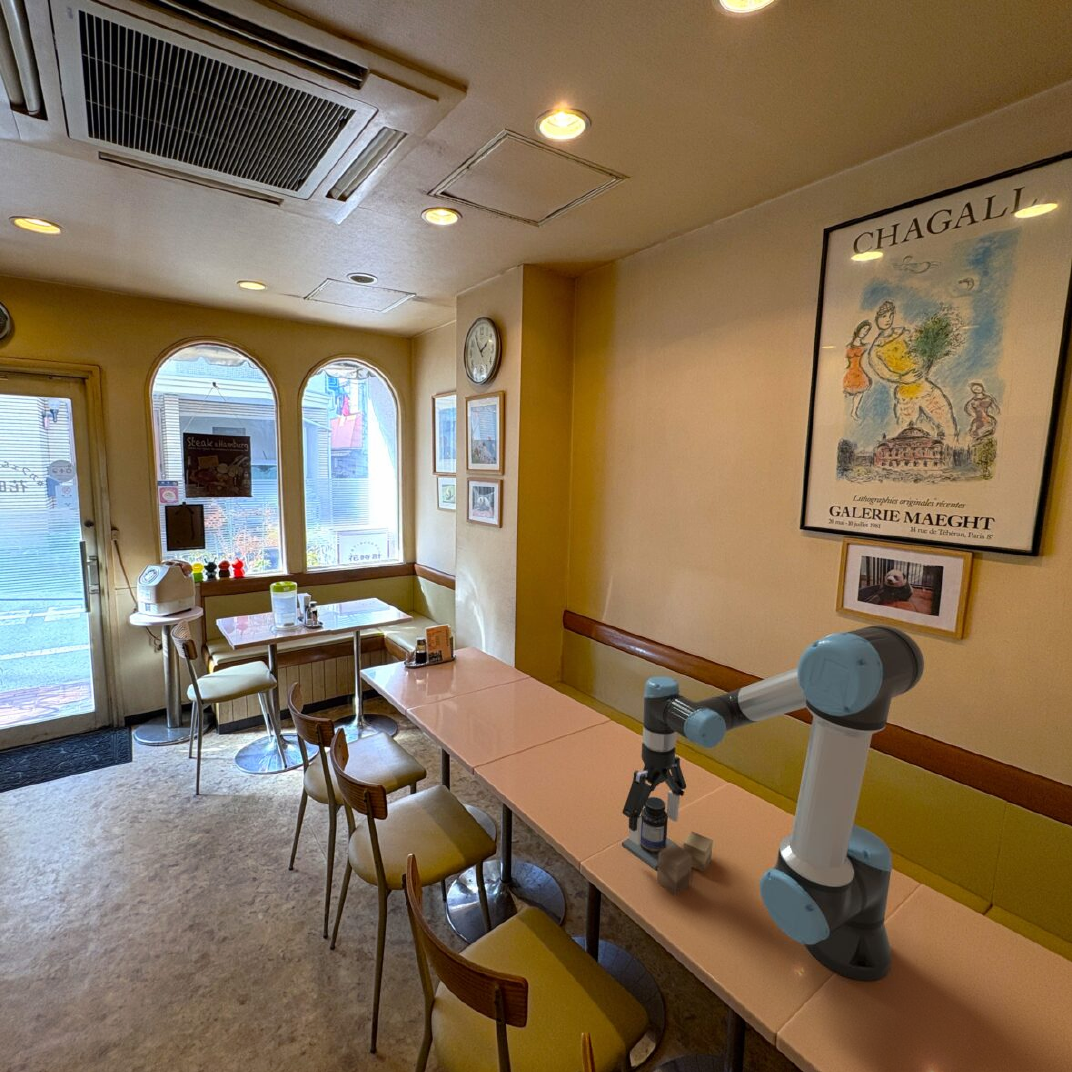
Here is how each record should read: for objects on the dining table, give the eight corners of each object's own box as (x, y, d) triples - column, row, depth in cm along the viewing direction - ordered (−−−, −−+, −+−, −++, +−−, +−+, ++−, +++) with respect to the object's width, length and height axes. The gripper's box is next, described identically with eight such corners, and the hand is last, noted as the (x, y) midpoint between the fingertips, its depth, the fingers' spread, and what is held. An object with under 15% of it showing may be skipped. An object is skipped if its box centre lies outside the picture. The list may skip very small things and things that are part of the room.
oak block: (711, 859, 131) (712, 840, 130) (703, 872, 127) (705, 851, 126) (690, 850, 134) (691, 831, 133) (682, 862, 130) (683, 842, 129)
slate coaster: (682, 851, 133) (682, 848, 133) (655, 869, 127) (655, 866, 127) (649, 828, 141) (649, 825, 141) (621, 845, 135) (621, 842, 134)
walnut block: (689, 884, 123) (692, 855, 122) (675, 895, 120) (677, 865, 119) (671, 871, 127) (673, 842, 126) (656, 881, 123) (658, 852, 122)
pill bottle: (647, 833, 138) (649, 791, 136) (670, 844, 134) (673, 801, 132) (634, 846, 133) (637, 803, 132) (658, 858, 129) (661, 814, 128)
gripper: (678, 723, 141) (673, 803, 144) (609, 754, 125) (605, 842, 128) (704, 735, 135) (699, 817, 138) (635, 768, 119) (630, 861, 122)
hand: (653, 829), depth 133 cm, fingers open, 13 cm apart
